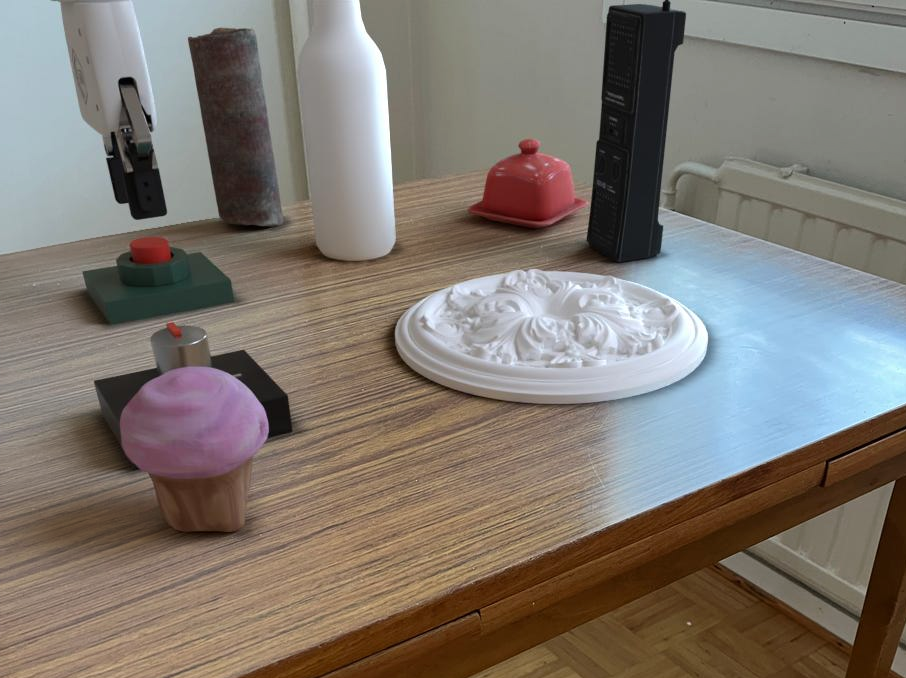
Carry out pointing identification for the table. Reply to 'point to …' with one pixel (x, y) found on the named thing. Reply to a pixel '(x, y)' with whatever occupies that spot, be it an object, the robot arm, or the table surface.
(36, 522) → the table surface
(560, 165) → the butter dish
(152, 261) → the button
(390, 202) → the white bottle
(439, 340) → the ceiling medallion
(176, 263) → the box
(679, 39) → the portable radio
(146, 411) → the cupcake
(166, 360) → the dial
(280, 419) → the dial panel
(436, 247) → the table surface
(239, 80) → the candle
